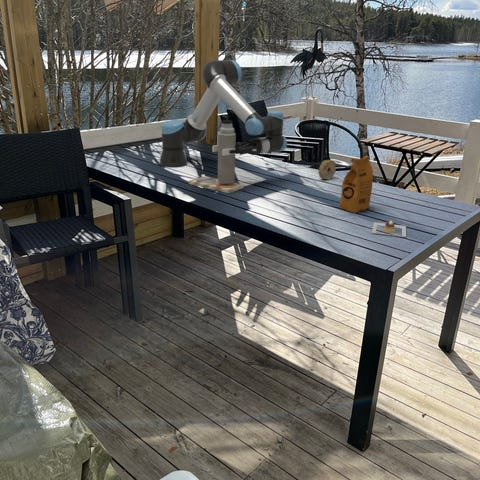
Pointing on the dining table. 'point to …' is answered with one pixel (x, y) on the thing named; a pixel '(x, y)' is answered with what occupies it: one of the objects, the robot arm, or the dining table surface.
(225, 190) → the board
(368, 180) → the coffee package
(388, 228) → the dessert
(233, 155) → the thermos bottle
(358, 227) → the dining table surface
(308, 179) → the dining table surface
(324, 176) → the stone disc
